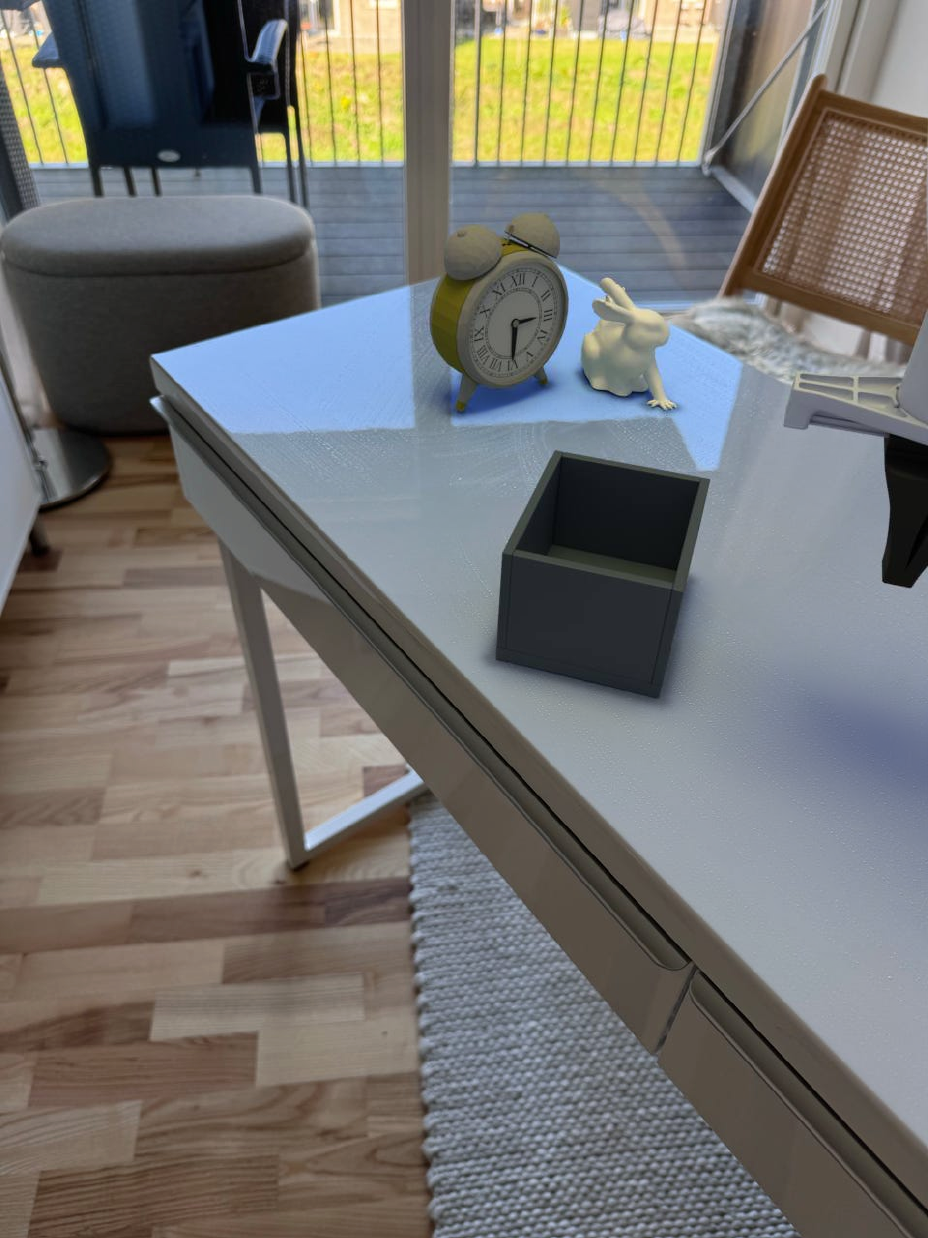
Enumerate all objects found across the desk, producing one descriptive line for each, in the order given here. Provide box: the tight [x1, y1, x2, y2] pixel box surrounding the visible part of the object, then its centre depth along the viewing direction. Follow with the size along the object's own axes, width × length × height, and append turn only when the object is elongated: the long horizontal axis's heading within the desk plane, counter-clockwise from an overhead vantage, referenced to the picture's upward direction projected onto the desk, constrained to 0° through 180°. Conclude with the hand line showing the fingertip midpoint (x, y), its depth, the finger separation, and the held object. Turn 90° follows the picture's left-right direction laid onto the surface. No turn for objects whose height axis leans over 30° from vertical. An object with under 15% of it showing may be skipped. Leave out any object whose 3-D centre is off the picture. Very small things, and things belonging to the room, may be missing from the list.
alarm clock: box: [429, 211, 570, 412], centre depth 78 cm, size 12×7×15 cm, turn 126°
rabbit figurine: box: [580, 277, 677, 411], centre depth 81 cm, size 12×8×10 cm, turn 18°
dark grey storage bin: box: [495, 449, 711, 699], centre depth 56 cm, size 8×12×10 cm
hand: (896, 574), depth 46 cm, fingers closed
